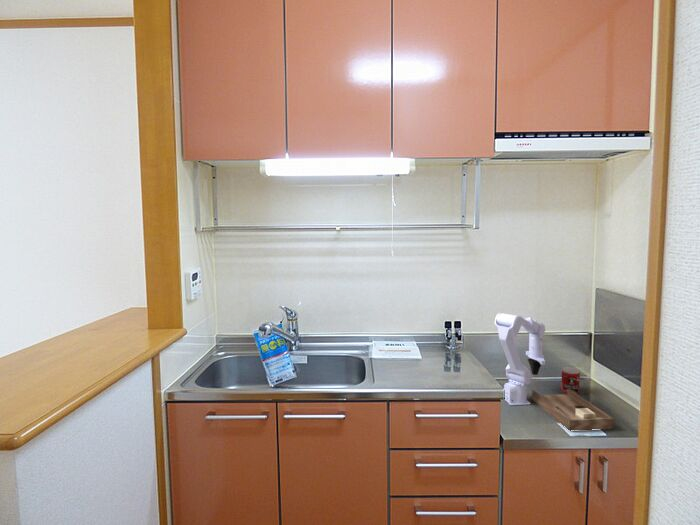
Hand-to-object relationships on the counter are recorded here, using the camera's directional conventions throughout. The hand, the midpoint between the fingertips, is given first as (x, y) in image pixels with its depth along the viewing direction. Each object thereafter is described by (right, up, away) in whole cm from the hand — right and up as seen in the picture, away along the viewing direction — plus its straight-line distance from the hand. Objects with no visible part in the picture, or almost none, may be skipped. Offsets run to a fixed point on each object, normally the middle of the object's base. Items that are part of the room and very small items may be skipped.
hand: (534, 374), depth 193 cm
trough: (+5, -11, -20) cm, 23 cm away
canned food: (+18, -9, +2) cm, 20 cm away
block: (+6, -10, -31) cm, 33 cm away
